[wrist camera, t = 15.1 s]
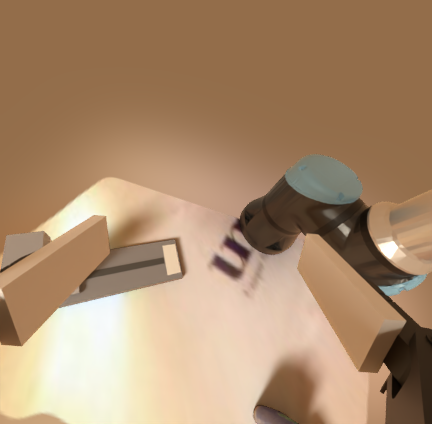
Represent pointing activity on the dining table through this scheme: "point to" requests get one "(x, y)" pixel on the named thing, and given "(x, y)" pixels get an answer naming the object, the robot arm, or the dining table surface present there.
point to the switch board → (130, 271)
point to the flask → (270, 416)
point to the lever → (25, 247)
